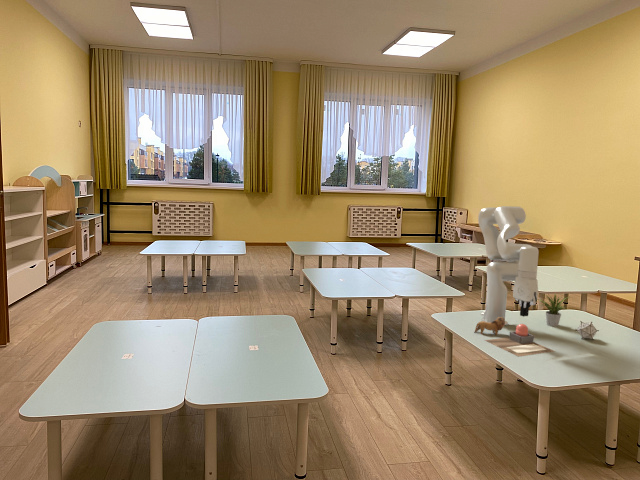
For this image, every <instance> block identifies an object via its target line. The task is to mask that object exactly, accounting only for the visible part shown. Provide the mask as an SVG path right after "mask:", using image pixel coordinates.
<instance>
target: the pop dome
mask: <svg viewBox="0 0 640 480" xmlns="http://www.w3.org/2000/svg"><path fill="white" fill-rule="evenodd" d="M515 331H516V335H519V336H521V337H523V336H528V333H529V327H528V326H527V324H524V323H520V324H518V325H516V326H515Z"/></svg>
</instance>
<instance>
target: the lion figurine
mask: <svg viewBox="0 0 640 480" xmlns="http://www.w3.org/2000/svg"><path fill="white" fill-rule="evenodd" d="M505 321H506V318H505V319H504V318H503V317H498V318H497V319H496V320H495V321H493V322H491V323H488V322H484V321H479V322H478V323H477V324H476V327H475V330H474V331H473V333H474V334H476V333H478V331H480V333H479V334H481V335H483V334H484V331H485V330H486V331H492V334H494V335H495V336H497V335H498V334H499V331H502V330H503V328H505V325H504V324H505Z"/></svg>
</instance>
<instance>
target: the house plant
mask: <svg viewBox="0 0 640 480" xmlns="http://www.w3.org/2000/svg"><path fill="white" fill-rule="evenodd" d="M542 295H544V299H545V300H547V299H548V303H547V302H546V301H544V300H542V299H539V301H540V302H541V303H542V304H543V305H544V306H545V307H546V308H547V311H545V318H546V319H545V320H546V325H547V326H549V327H558V326H559V323H560V321H561V317H562V313H561V312H559V311H561V310H565V306H563V303H565V302H566V301H567V299H569V298H570V296H565V297H563V296H561V297H557V293H554V296H553V297H552V296H551V295H550V294H548V295H546V294H544V293H542ZM546 298H547V299H546ZM560 299H561V301H560ZM542 304H540V306H542Z"/></svg>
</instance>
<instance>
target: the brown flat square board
mask: <svg viewBox="0 0 640 480" xmlns="http://www.w3.org/2000/svg"><path fill="white" fill-rule="evenodd" d="M484 341H485V342H487V343H490V344H491V345H493V346H496V347H498V348H499V349H501V350H504V351H506V352H507V353H510V354H512V355H514V356H516V357H526V356H533V355H539V354H548V353H555V352H556V351H555V350H553V349H551V348H549V347H547V346H544V345H542V344H539V343H537V342H534V341H533V343H526V344H520V343H517V342H515V341H513V340H511V339H509V336H508V337H501V338H492V339H490V338H489V339H484Z"/></svg>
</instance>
